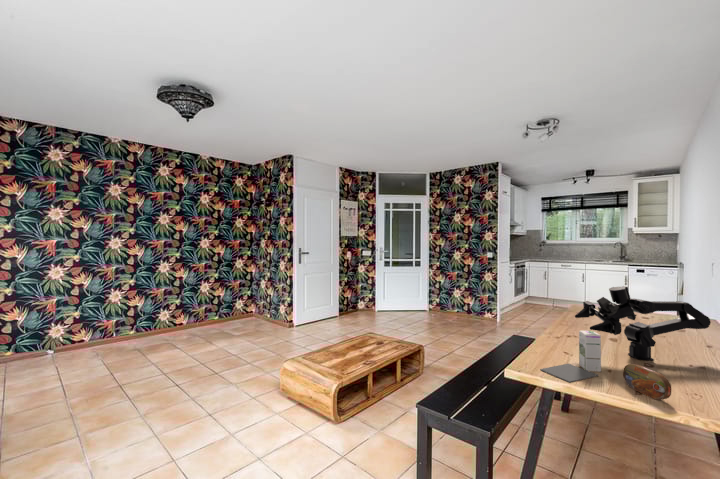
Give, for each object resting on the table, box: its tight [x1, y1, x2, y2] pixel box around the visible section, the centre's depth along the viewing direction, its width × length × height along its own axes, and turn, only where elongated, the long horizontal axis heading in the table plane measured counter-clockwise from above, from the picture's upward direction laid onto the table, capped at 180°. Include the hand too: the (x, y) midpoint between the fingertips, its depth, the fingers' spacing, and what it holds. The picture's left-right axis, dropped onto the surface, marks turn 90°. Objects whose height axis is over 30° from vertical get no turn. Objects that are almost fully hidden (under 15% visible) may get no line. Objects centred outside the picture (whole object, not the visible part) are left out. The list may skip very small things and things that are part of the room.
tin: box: [622, 363, 672, 401], centre depth 110 cm, size 15×3×8 cm, turn 5°
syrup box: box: [578, 330, 602, 373], centre depth 131 cm, size 6×6×14 cm
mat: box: [539, 363, 600, 383], centre depth 126 cm, size 16×12×1 cm
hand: (582, 322), depth 143 cm, fingers open, 9 cm apart
